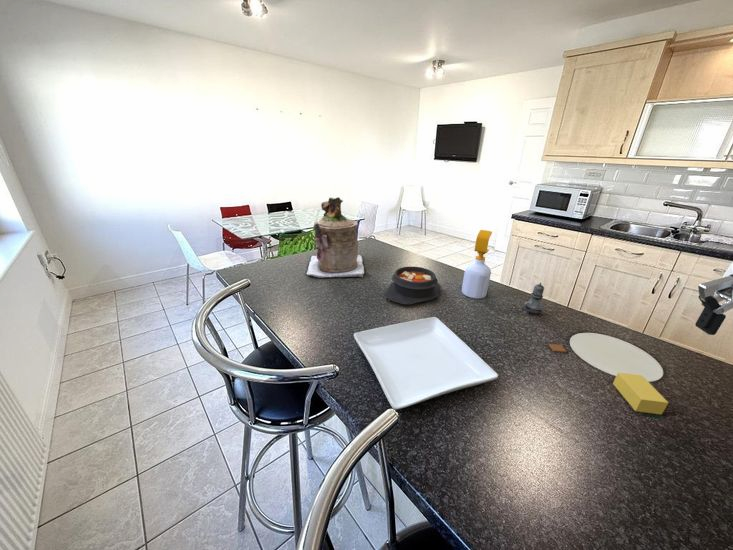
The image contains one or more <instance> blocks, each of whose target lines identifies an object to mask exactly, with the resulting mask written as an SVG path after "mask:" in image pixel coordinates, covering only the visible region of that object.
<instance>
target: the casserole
mask: <svg viewBox="0 0 733 550" xmlns="http://www.w3.org/2000/svg"><path fill="white" fill-rule="evenodd" d="M391 280H392V282H391V283H390V285H389V286H388V289H387V290H386V291H385V293H384V296H385V297H386V298H387V299H389V300H391V301H392V302H396V303H398V304H402V305H413V304H416V303H420V302H421V303H422V302H427V301H432V300H433V299H436V298H437V297H438V296H439V294H440V293H439V291H440V288H441V284H440V283H439V280H438V279H437V276H436V273H435V272H433V271H432V270H431V269H428V268H425V267H420V266H411V265H410V266H402V267H399V268H397V269H396V270H395V271H394V273H393V274H392V275H391Z"/></svg>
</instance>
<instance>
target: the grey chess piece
mask: <svg viewBox="0 0 733 550" xmlns="http://www.w3.org/2000/svg"><path fill="white" fill-rule="evenodd" d="M544 290H545V287H544V286H543V284H542V282H539V283H537V284H535V285H534V286H533V290H532V292H531V293H530V295H531V296H530V299H529V300H526V301H524V303H523V304H524V310H522V314H523V315H539V314H540V313H541V312H542V311H543V310H544V308H545V306H544V305H543V304H542V302H541V301H542V298H544V295H543V293H544Z"/></svg>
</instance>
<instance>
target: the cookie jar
mask: <svg viewBox="0 0 733 550" xmlns="http://www.w3.org/2000/svg"><path fill="white" fill-rule="evenodd" d="M343 202H344V200H343V199H341V198H340V197H338V196H337V197H328V200H327V201H323V202H321V204H320V207H321V210H322V211H324V213H323V216H322V217H321V218H320V219H318V220H317V221H316V222H314V223H313V231H314V236H315V239H313V243H314V244H315V245H316V246H317V250H316V251H317V252H316V255H311V256H310V261H309V262H308V263H309V264H308V268H307V272H306V276H311V277H314V278H315V277H316V278H319V279H321V278H364V274H365V270H364V269H365V267H364V264H363V257H362V255H360V254H359V242H358V235H357V234H358V233H357V228H358V226H359V223H358V221H356V220H353V219H349V218H347V217H346V216H345V215H343V214H342V207H341V205H342V203H343Z"/></svg>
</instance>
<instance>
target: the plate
mask: <svg viewBox="0 0 733 550" xmlns="http://www.w3.org/2000/svg"><path fill="white" fill-rule="evenodd" d="M569 345H570V348H571V349H572V351H573V352H574V353H575V354H576V355H577V356H578V357H579V358H580V359H581V360H583V361H585V362H586V363H588V364H589V365H591V366H593V368H596V369H598V370H600V371H602V372H604V373H607V374H608V375H612V376H614V377H616V376H617V374H618V373H627V374H635V375H642V376H643V377H644V378H645V379H646V380H647V381H648V382H649V383H651V382H656V381H658V380H661V378H662V377H664V370H663V367H662V366H661V364H660V363H659V362H658V360H656V359H655V357H653V356H652V355H650V354H649V353H647V352H646V351H645V350H643V349H641V348H639V347H638V346H636V345H634V344H632V343H630V342H627V341H625V340H623V339H621V338H617V337H614V336H610V335H606V334H601V333H596V332H579V333H575V334H574V335H572V336H571V337H570V339H569Z"/></svg>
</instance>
